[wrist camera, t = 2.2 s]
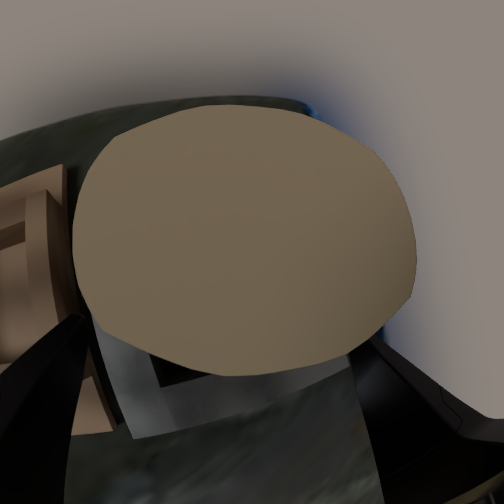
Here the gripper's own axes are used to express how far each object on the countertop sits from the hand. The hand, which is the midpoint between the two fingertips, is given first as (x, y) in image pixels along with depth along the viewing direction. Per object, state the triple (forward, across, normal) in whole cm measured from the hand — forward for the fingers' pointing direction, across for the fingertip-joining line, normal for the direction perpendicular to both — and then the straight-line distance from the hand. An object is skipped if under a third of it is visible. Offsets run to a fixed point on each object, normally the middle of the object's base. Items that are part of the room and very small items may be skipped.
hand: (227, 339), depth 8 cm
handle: (+9, 0, +6) cm, 11 cm away
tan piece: (+7, +15, +8) cm, 18 cm away
